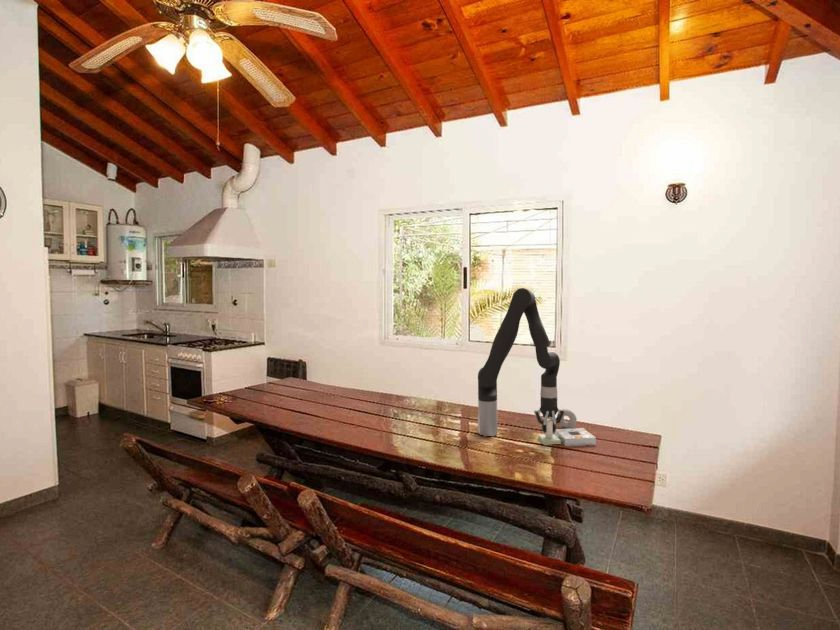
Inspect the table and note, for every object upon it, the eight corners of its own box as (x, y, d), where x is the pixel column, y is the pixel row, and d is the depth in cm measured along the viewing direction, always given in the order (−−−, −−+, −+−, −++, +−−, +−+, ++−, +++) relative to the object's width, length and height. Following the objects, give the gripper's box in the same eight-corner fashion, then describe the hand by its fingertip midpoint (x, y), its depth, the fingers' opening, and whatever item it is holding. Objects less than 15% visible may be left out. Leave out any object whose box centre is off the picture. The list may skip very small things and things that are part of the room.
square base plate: (544, 445, 207) (544, 440, 207) (538, 438, 216) (538, 434, 215) (560, 444, 207) (560, 440, 207) (553, 438, 216) (553, 433, 216)
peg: (546, 438, 209) (546, 421, 209) (544, 435, 213) (544, 419, 212) (553, 438, 209) (553, 421, 209) (551, 435, 213) (551, 419, 212)
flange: (565, 446, 205) (565, 438, 204) (554, 436, 218) (554, 428, 218) (595, 445, 205) (595, 437, 205) (583, 435, 219) (583, 427, 219)
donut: (555, 427, 232) (555, 408, 231) (558, 425, 234) (558, 406, 234) (575, 431, 225) (575, 411, 225) (577, 429, 228) (577, 409, 228)
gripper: (536, 397, 206) (536, 435, 207) (566, 397, 206) (566, 434, 207) (531, 394, 213) (531, 430, 214) (561, 393, 214) (561, 429, 215)
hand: (549, 431), depth 211 cm, fingers closed on peg, 3 cm apart
